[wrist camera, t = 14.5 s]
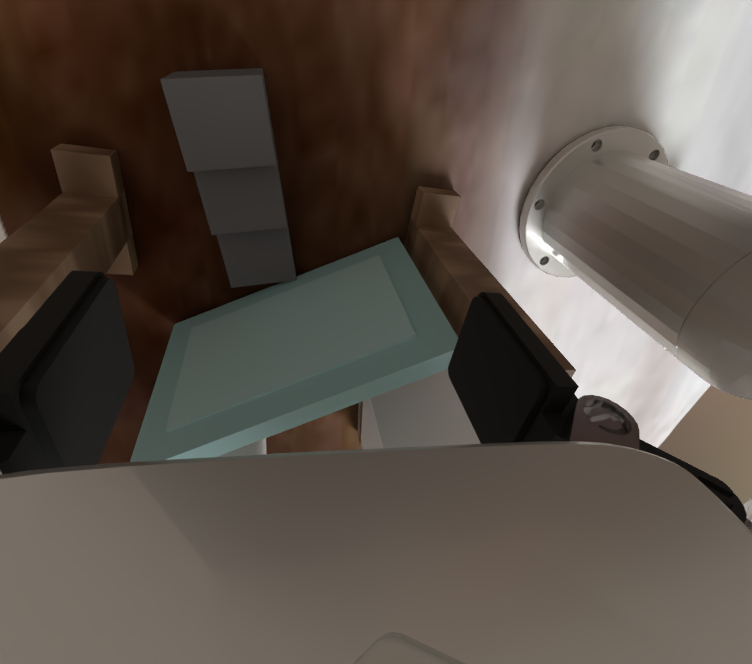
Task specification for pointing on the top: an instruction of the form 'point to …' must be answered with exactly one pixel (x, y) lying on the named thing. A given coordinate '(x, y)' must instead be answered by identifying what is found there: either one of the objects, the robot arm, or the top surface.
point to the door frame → (118, 256)
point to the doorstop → (234, 168)
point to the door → (294, 355)
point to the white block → (415, 416)
